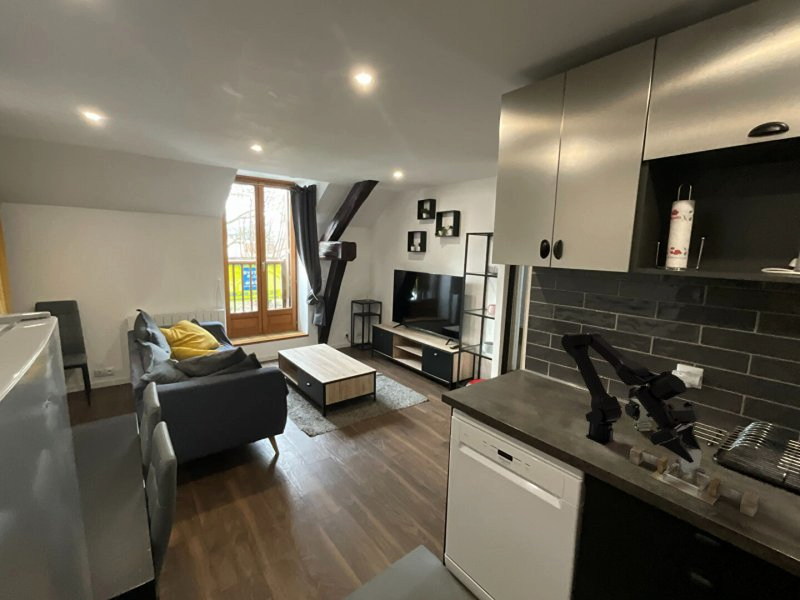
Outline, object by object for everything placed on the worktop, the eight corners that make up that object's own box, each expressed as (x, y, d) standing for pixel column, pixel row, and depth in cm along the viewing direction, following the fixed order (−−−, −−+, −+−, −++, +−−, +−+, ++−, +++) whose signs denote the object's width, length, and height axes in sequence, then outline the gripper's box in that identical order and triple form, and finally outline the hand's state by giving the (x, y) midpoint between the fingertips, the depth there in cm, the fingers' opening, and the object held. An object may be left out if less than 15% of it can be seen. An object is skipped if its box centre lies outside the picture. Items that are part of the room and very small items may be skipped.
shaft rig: (624, 464, 109) (626, 451, 109) (639, 453, 115) (640, 441, 114) (749, 522, 87) (752, 506, 86) (759, 505, 92) (762, 490, 91)
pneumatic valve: (622, 426, 132) (625, 396, 130) (652, 425, 133) (655, 395, 131) (632, 434, 127) (636, 402, 125) (663, 433, 128) (667, 401, 126)
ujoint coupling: (670, 478, 102) (675, 446, 100) (676, 473, 104) (681, 442, 103) (699, 492, 96) (705, 458, 95) (705, 486, 99) (710, 453, 98)
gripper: (667, 402, 95) (715, 460, 87) (692, 386, 105) (737, 437, 98) (632, 418, 102) (673, 473, 95) (658, 402, 113) (697, 450, 106)
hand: (696, 458), depth 98 cm, fingers open, 7 cm apart
